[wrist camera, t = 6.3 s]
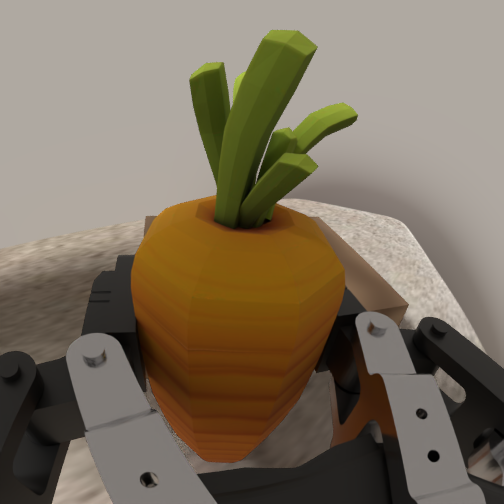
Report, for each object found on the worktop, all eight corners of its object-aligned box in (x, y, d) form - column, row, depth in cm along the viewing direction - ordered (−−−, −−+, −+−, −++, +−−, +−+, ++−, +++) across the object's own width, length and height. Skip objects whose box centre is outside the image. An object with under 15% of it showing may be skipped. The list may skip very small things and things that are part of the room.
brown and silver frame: (146, 378, 15) (138, 332, 14) (146, 252, 27) (145, 216, 25) (389, 344, 20) (408, 304, 18) (311, 249, 32) (318, 217, 30)
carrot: (191, 398, 15) (208, 55, 8) (284, 431, 14) (386, 78, 7) (144, 473, 10) (75, 28, 3) (252, 516, 9) (424, 29, 2)
